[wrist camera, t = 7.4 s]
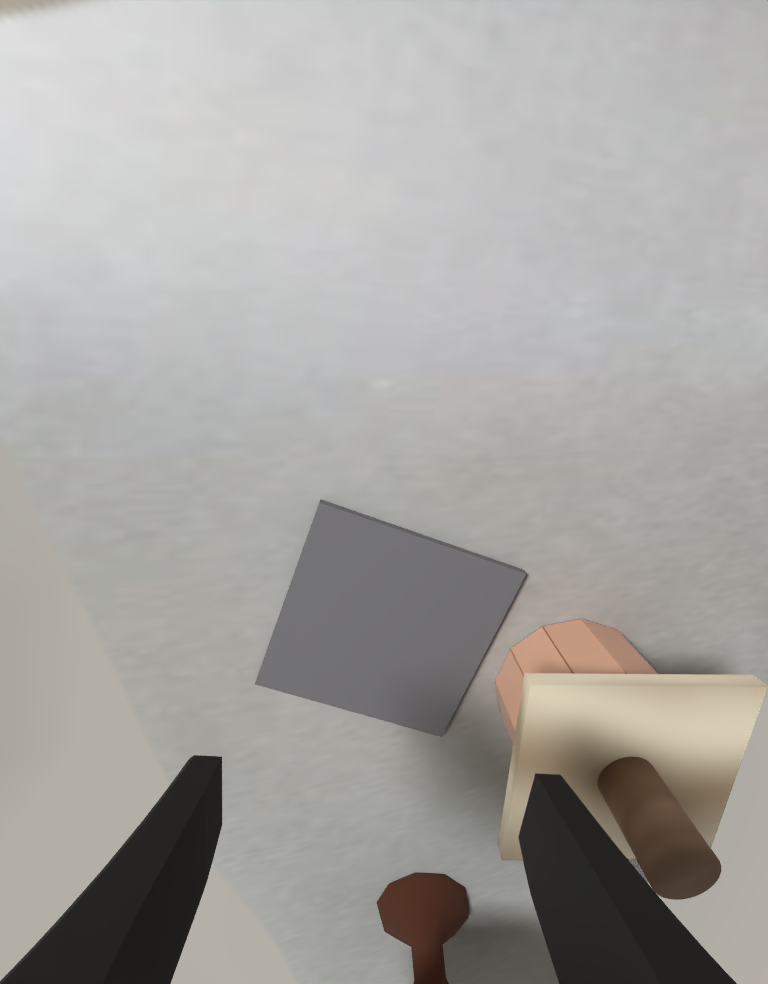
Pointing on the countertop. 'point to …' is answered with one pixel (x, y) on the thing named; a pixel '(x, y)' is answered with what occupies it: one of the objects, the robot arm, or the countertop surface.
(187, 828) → the robot arm
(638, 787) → the cover
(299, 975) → the countertop surface
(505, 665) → the bowl
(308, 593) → the mat
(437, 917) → the ice cream bowl
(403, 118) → the countertop surface
